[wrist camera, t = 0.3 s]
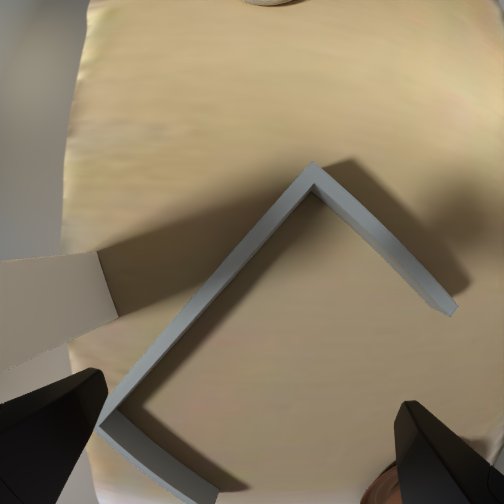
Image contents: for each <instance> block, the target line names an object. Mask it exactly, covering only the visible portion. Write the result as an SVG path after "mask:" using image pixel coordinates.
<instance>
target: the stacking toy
mask: <svg viewBox="0 0 504 504" xmlns="http://www.w3.org/2000/svg"><path fill="white" fill-rule="evenodd" d="M241 1H244V2H247V3H250V4H255V5H277V4H282V3H286V2H289V1H292V0H241Z"/></svg>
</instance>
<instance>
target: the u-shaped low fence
mask: <svg viewBox="0 0 504 504" xmlns="http://www.w3.org/2000/svg"><path fill="white" fill-rule="evenodd" d="M310 191H312V192H313V193H314V194H315V195H316V196H317V197H319V198H320V199H321V200H322V201H323V202H324V203H325V204H326V205H328V206H329V207H330V208H331V209H332V210H333V211H334V212H335V213H336V214H338V215H339V216H340V217H341V218H342V219H343V220H344V221H345V222H346V223H347V224H348V225H349V226H351V227H352V228H353V229H354V230H355V231H356V232H357V233H358V234H359V235H360V236H361V237H362V238H363V239H364V240H365V241H366V242H367V243H368V244H369V245H371V246H372V247H373V248H374V249H375V250H376V251H377V252H378V253H379V254H380V255H381V256H382V257H383V258H384V259H385V260H386V261H387V262H388V263H389V264H390V265H391V266H392V267H393V268H394V269H395V270H396V271H397V272H398V273H399V274H400V275H401V276H402V277H403V278H404V279H405V280H406V281H407V282H408V284H409V285H410V286H411V287H412V288H413V289H414V290H415V291H416V292H417V293H418V294H419V295H420V296H421V297H422V298H423V299H424V300H425V301H426V303H427V304H428V305H429V306H430V307H432V308H433V309H435V310H437V311H439V312H441V313H443V314H445V315H446V316H448V317H451V315H452V314H453V313H454V312H455V310H456V309H457V308H458V307H459V306H458V305H457V304H456V302H455V301H454V300H453V299H452V298H451V297H450V295H449V294H448V293H447V292H446V291H445V290H444V289H443V287H442V286H441V285H440V284H439V283H438V282H437V281H436V280H435V279H434V277H433V276H432V275H431V274H430V273H429V272H428V271H427V270H426V269H425V268H424V266H423V265H422V264H421V263H420V262H419V261H418V260H417V259H416V258H415V257H414V256H413V255H412V254H411V253H410V252H409V251H408V250H407V249H406V247H405V246H404V245H403V244H402V243H401V242H400V241H399V240H398V239H397V238H396V237H395V236H394V235H393V234H392V233H391V232H390V231H389V230H388V229H387V228H386V227H385V226H384V225H383V224H382V223H381V222H380V221H379V220H377V219H376V218H375V217H374V216H373V215H372V214H371V213H370V212H369V211H368V210H367V209H366V208H365V207H364V206H363V205H362V204H361V203H360V202H358V201H357V200H356V199H355V198H354V197H353V196H352V195H351V194H350V193H349V192H348V191H346V190H345V189H344V188H343V187H342V186H341V185H340V184H339V183H338V182H336V181H335V180H334V179H333V178H332V177H331V176H330V175H328V174H327V173H326V172H325V171H324V170H323V169H322V168H320V167H319V166H318V165H317V164H316V163H314V162H313V161H312V162H311V163H310V164H309V165H308V166H307V167H306V168H305V169H304V171H303V172H302V173H301V174H300V175H299V176H298V177H297V178H296V179H295V181H294V182H293V183H292V184H291V185H290V186H289V187H288V188H287V190H286V191H285V192H284V193H283V194H282V195H281V196H280V197H279V199H278V200H277V201H276V202H275V203H274V204H273V205H272V207H271V208H270V209H269V210H268V211H267V212H266V213H265V214H264V216H263V217H262V218H261V219H260V220H259V221H258V222H257V224H256V225H255V226H254V227H253V228H252V229H251V230H250V231H249V233H248V234H247V235H246V236H245V237H244V238H243V239H242V241H241V242H240V243H239V244H238V245H237V246H236V247H235V249H234V250H233V251H232V252H231V253H230V254H229V255H228V257H227V258H226V259H225V260H224V261H223V262H222V264H221V265H220V266H219V267H218V268H217V269H216V270H215V272H214V273H213V274H212V275H211V276H210V277H209V279H208V280H207V281H206V282H205V283H204V284H203V285H202V287H201V288H200V289H199V290H198V291H197V292H196V294H195V295H194V296H193V297H192V298H191V299H190V301H189V302H188V303H187V304H186V305H185V306H184V308H183V309H182V310H181V311H180V312H179V313H178V315H177V316H176V317H175V318H174V319H173V320H172V322H171V323H170V324H169V325H168V326H167V327H166V329H165V330H164V331H163V332H162V333H161V334H160V336H159V337H158V338H157V339H156V340H155V342H154V343H153V344H152V345H151V346H150V347H149V349H148V350H147V351H146V352H145V353H144V355H143V356H142V357H141V358H140V359H139V360H138V362H137V363H136V364H135V365H134V366H133V368H132V369H131V370H130V371H129V372H128V374H127V375H126V376H125V377H124V378H123V379H122V381H121V382H120V383H119V384H118V385H117V387H116V388H115V389H114V390H113V391H112V393H111V394H110V395H109V396H108V397H107V399H106V401H105V404H104V406H103V408H102V411H101V413H100V416H99V418H98V421H97V423H96V426H95V428H94V431H95V432H96V433H97V434H98V435H99V436H101V437H102V438H103V439H104V440H105V441H106V442H107V443H108V444H109V445H110V446H112V447H113V448H114V449H115V450H116V451H117V452H118V453H120V454H121V455H122V456H123V457H124V458H125V459H127V460H128V461H129V462H130V463H131V464H133V465H134V466H135V467H136V468H138V469H139V470H140V471H141V472H143V473H144V474H145V475H147V476H148V477H149V478H151V479H152V480H153V481H155V482H156V483H157V484H159V485H160V486H161V487H163V488H164V489H166V490H167V491H168V492H170V493H171V494H173V495H174V496H176V497H177V498H179V499H180V500H182V501H183V502H185V503H186V504H215V502H216V499H217V496H218V493H219V490H220V489H218V488H216V487H215V486H213V485H212V484H210V483H209V482H207V481H206V480H204V479H203V478H201V477H200V476H199V475H197V474H196V473H194V472H193V471H191V470H190V469H189V468H187V467H186V466H185V465H183V464H182V463H180V462H179V461H178V460H176V459H175V458H174V457H173V456H171V455H170V454H169V453H167V452H166V451H165V450H164V449H162V448H161V447H160V446H159V445H157V444H156V443H155V442H154V441H152V440H151V439H150V438H149V437H148V436H146V435H145V434H144V433H143V432H142V431H141V430H139V429H138V428H137V427H136V426H135V425H134V424H133V423H132V422H130V421H129V420H128V419H127V418H126V417H125V416H124V415H123V414H122V413H121V412H119V411H118V410H117V408H118V407H119V406H120V405H121V404H122V402H123V401H124V400H125V399H126V398H127V397H128V396H129V395H130V394H131V392H132V391H133V390H134V389H135V388H136V387H137V386H138V385H139V383H140V382H141V381H142V380H143V379H144V378H145V377H146V376H147V375H148V373H149V372H150V371H151V370H152V369H153V368H154V367H155V366H156V364H157V363H158V362H159V361H160V360H161V359H162V358H163V357H164V356H165V354H166V353H167V352H168V351H169V350H170V349H171V348H172V347H173V345H174V344H175V343H176V342H177V341H178V340H179V339H180V338H181V337H182V335H183V334H184V333H185V332H186V331H187V330H188V329H189V328H190V326H191V325H192V324H193V323H194V322H195V321H196V320H197V319H198V317H199V316H200V315H201V314H202V313H203V312H204V311H205V310H206V309H207V307H208V306H209V305H210V304H211V303H212V302H213V301H214V300H215V298H216V297H217V296H218V295H219V294H220V293H221V292H222V291H223V289H224V288H225V287H226V286H227V285H228V284H229V283H230V282H231V280H232V279H233V278H234V277H235V276H236V275H237V274H238V273H239V271H240V270H241V269H242V268H243V267H244V266H245V265H246V264H247V262H248V261H249V260H250V259H251V258H252V257H253V256H254V255H255V253H256V252H257V251H258V250H259V249H260V248H261V247H262V246H263V244H264V243H265V242H266V241H267V240H268V239H269V238H270V237H271V235H272V234H273V233H274V232H275V231H276V230H277V229H278V227H279V226H280V225H281V224H282V223H283V222H284V221H285V220H286V218H287V217H288V216H289V215H290V214H291V213H292V212H293V211H294V209H295V208H296V207H297V206H298V205H299V204H300V203H301V201H302V200H303V199H304V198H305V197H306V196H307V195H308V194H309V192H310Z"/></svg>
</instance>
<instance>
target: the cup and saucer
mask: <svg viewBox="0 0 504 504" xmlns="http://www.w3.org/2000/svg"><path fill="white" fill-rule="evenodd" d="M360 504H402V500H401V494H400V487H399V481H398V475H397V466H394V467H392V468H391V469H389V470H388V471H387V472H385V473H384V474H383V475H381V476H380V477H379V478H378V479H376V480H375V481H374V482H373V483H372V484H371V485H370V486H369V488H368V489H367V490H366V492H365V493H364V495H363V497H362V499H361V501H360Z"/></svg>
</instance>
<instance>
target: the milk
mask: <svg viewBox="0 0 504 504" xmlns="http://www.w3.org/2000/svg"><path fill="white" fill-rule="evenodd" d="M117 318H118V314H117V311H116V309H115V306H114V303H113V300H112V298H111V295H110V292H109V289H108V286H107V283H106V280H105V277H104V274H103V271H102V268H101V265H100V261H99V258H98V255H97V252H88V253H77V254H66V255H56V256H46V257H36V258H26V259H17V260H6V261H0V373H2V372H4V371H6V370H9V369H11V368H13V367H15V366H17V365H19V364H21V363H23V362H26V361H28V360H30V359H32V358H34V357H36V356H39V355H41V354H43V353H45V352H47V351H49V350H51V349H53V348H55V347H57V346H60V345H62V344H64V343H66V342H68V341H70V340H73V339H75V338H77V337H79V336H81V335H83V334H85V333H87V332H90V331H92V330H94V329H96V328H98V327H100V326H102V325H104V324H107V323H109V322H111V321H113V320H115V319H117Z"/></svg>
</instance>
